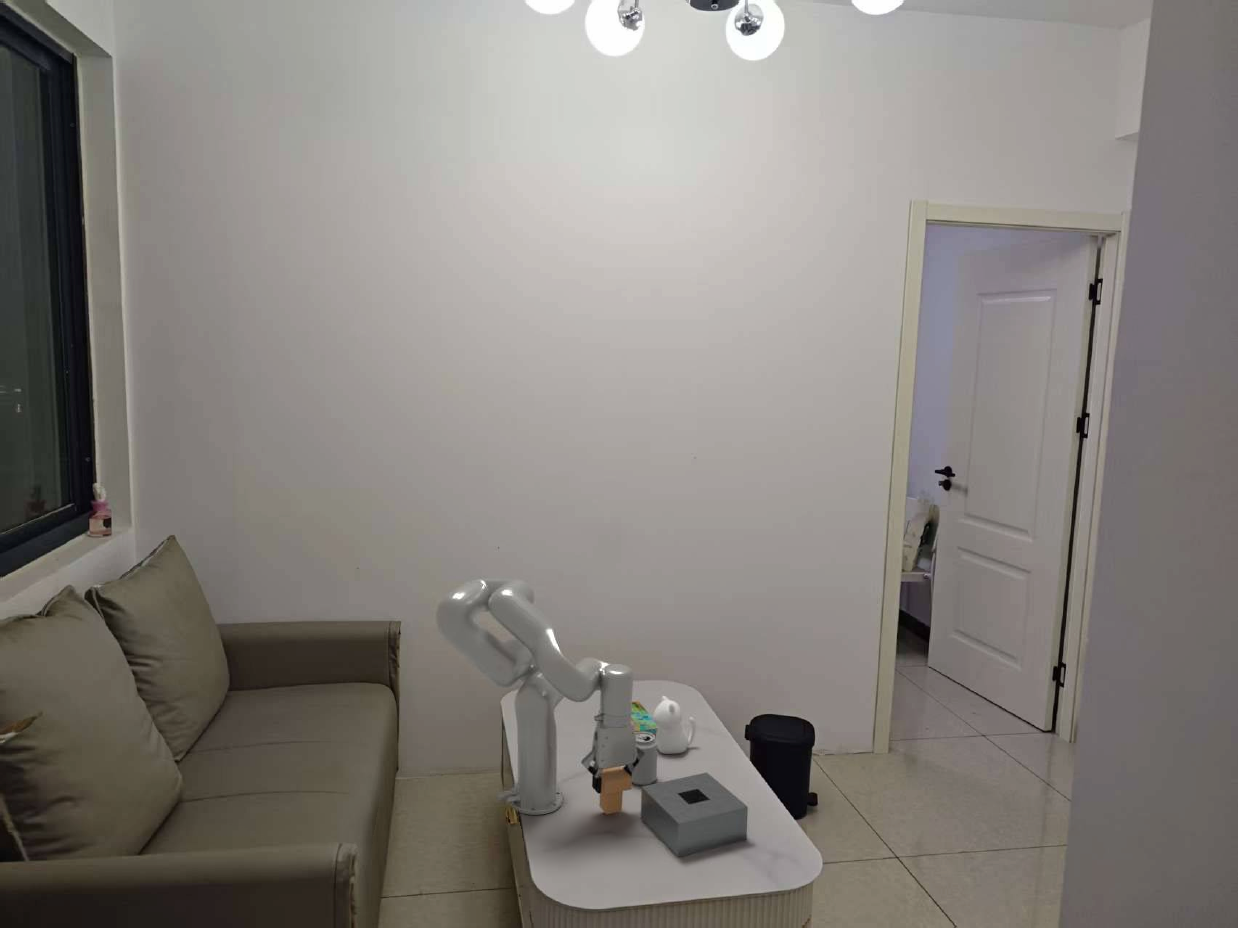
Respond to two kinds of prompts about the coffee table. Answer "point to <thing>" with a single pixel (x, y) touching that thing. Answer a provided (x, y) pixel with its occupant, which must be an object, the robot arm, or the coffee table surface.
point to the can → (646, 759)
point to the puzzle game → (642, 719)
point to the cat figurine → (671, 728)
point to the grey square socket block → (693, 814)
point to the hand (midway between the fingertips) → (611, 787)
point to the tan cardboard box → (613, 788)
